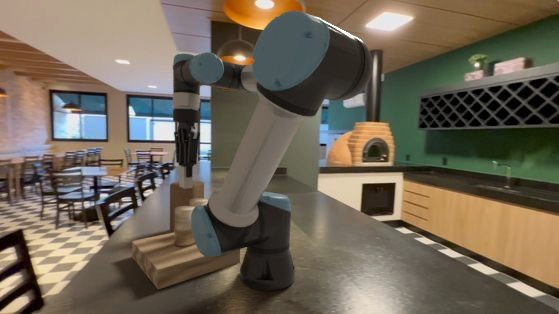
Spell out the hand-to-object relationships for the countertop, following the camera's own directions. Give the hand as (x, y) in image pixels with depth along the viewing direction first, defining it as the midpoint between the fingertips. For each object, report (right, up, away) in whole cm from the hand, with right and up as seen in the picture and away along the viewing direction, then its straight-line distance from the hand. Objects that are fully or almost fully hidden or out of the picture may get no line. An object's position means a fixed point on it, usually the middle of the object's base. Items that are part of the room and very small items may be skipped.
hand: (185, 187), depth 82 cm
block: (-9, -21, +26) cm, 35 cm away
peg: (-1, -22, +1) cm, 22 cm away
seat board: (-1, -22, +1) cm, 22 cm away
